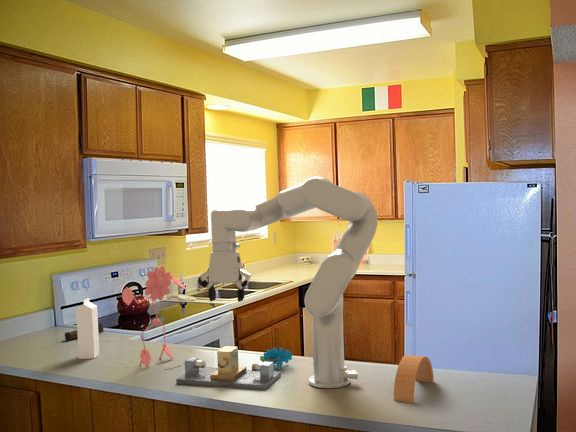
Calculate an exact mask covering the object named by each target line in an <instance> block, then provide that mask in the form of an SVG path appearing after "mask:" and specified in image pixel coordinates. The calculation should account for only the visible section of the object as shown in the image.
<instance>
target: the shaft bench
mask: <svg viewBox="0 0 576 432" xmlns="http://www.w3.org/2000/svg"><path fill="white" fill-rule="evenodd" d="M199 359H200V358H199V357H191V356H190V357H189V358H187V359H186V360H184V374H182V375H180V376H179V377H177V378H176V382H175V383H176V385H187V386H188V385H189V386H200V385H201V387H217V388H228V389H229V388H231V389H243V390H245V389H246V390H258V391H259V390H260V391H266V390H267V389H268V388H269V387H270V386H272V385H273V384H274V383H275V382H276V381H277V380H278V379H279V378H281V376H282V375H281V371H278V370H277V371H276V370H275V371H274V364H273V362H263V361H262V363H252V366H251V369H247V366H239V369H237V370H236V371H234V372H233V373H232V374H225V373H218V367H212V366H211V367H210V366H207V362H206V360H199Z"/></svg>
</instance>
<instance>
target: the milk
mask: <svg viewBox="0 0 576 432" xmlns="http://www.w3.org/2000/svg"><path fill="white" fill-rule="evenodd" d="M75 312H76V313H75V314H76V328H77V329H76V330H77V335H78V338H77V350H78V351H77V353H78V354H77V355H78V360H89V359H91V360H92V359H96V358H97V357H98V356H99V355H100V342H99V341H100V339H99V338H100V337H99V333H98V323H99V321H98V320H99V319H98V305H96V304H94V303H93V302H91V301H90V298H89V297H87V298H85V299H84V300H83V304H82V305H80V306H79V307H77V308H75Z"/></svg>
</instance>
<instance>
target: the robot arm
mask: <svg viewBox="0 0 576 432" xmlns="http://www.w3.org/2000/svg"><path fill="white" fill-rule="evenodd" d="M314 209H318V210H320V211H322V212H325V213H327V214H330V215H331V216H333V217H336V218H339V219H341V220H344V221H347V222H349V223H348V225H347V227H346V229H345V230H344V233H343V234H342V236H341V239H340V240H339V242H338V244H337V246H336V247H335V249H334V251H332V252H331V253H330V254H329V255H327V256H326V257H325V258H324V260H323V261H322V263H321V264H320V266H319V268H318V270H317V271H316V274H315V275H314V277H313V279H312V281H311V283H310V285H309V286H308V289H307V290H306V293H305V295H304V298H303V299H304V302H303V303H304V306H305V309H306V310H307V312H308V313H309V314H310V315H311V331H312V332H311V333H312V334H311V335H312V338H311V339H312V357H313V358H312V359H313V361H312V362H313V363H312V364H313V375H312V376H310V377H309V378H308V383H309V385H311V387H315V388H319V389H337V388H343V387H345V386H347V385H349V384H350V382H351V380H359V372H357V371H356V370H349V369H348V366H347V365H345V346H344V292H345V291H346V289H347V287H348V285H349V283H350V281H351V280H352V279H353V278H354V277H355V275H356V273H357V272H358V270H359V267H360V264H361V263H362V261H363V260H364V257H365V255H366V253H367V252H368V249H369V247H370V245H371V244H372V242H373V239H374V238H375V235H376V232H377V228H378V214H377V213H378V212H377V209H376V207H375V205H374V203H373V202H372V200H371V199H370V197H368V196H367V195H366V194H365V193H363V192H360V191H351V190H349V189H347V188H344V187H341V186H340V185H336V184H334V183H332V182H331V180H330V179H329V178H326V177H325V176H324V177H323V176H313V177H309V178H307V179H306V180H305V181H304V182H303V183H299V184H298V185H295V186H292V187H289V188H287V189H284V190H281V191H279V192H278V193H277V194H276V195H275V196H274V197H272V198H271V199H268V200H265V201H263V202H261V203H258V204H254V205H252V206H249V207H248V206H247V207H241V208H239V207H238V208H234V209H231V208H220V209H213V210H212V211H211V212H210V221H211V223H210V224H211V225H210V226H211V247H212V251H211V252H210V256H209V264H208V265H209V266H208V270H207V271H205V272H204V273H202V274H200V275H199V277H200V280H201V281H202V283H203V284H204V286H205V287H206V289H207V290H208V291H207V293H208V298H209V302H214V301H216V300H217V299H216V298H217V296H216V288H215V285H216V284H235V285H236V286H237V288H238V289H236V292H237V293H236V294H237V295H236V296H237V302H238V303H239V302H243V301H244V299H245V288H246V287H247V285H248V284H249V283H250V280H251V278H252V274H251V273H249V272H248V271H246V270H243V267H242V266H243V265H242V260H241V256H240V251H238V250H237V249H239V248H240V247H241V245H240V243H237V241H236V238H237V237H236V232H239V233H240V232H241V233H245V232H249V231H254V230H258V229H260V228H263V227H265V226H270V225H271V224H274V223H276V222H280V221H281V220H285V219H286V220H287V219H290V218H291V217H295V216H298V215H299V214H302V213H305V212H308V211H310V210H314ZM208 276H209V279H208V278H207V277H208ZM244 277H245V278H244ZM243 278H244V280H243Z"/></svg>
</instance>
